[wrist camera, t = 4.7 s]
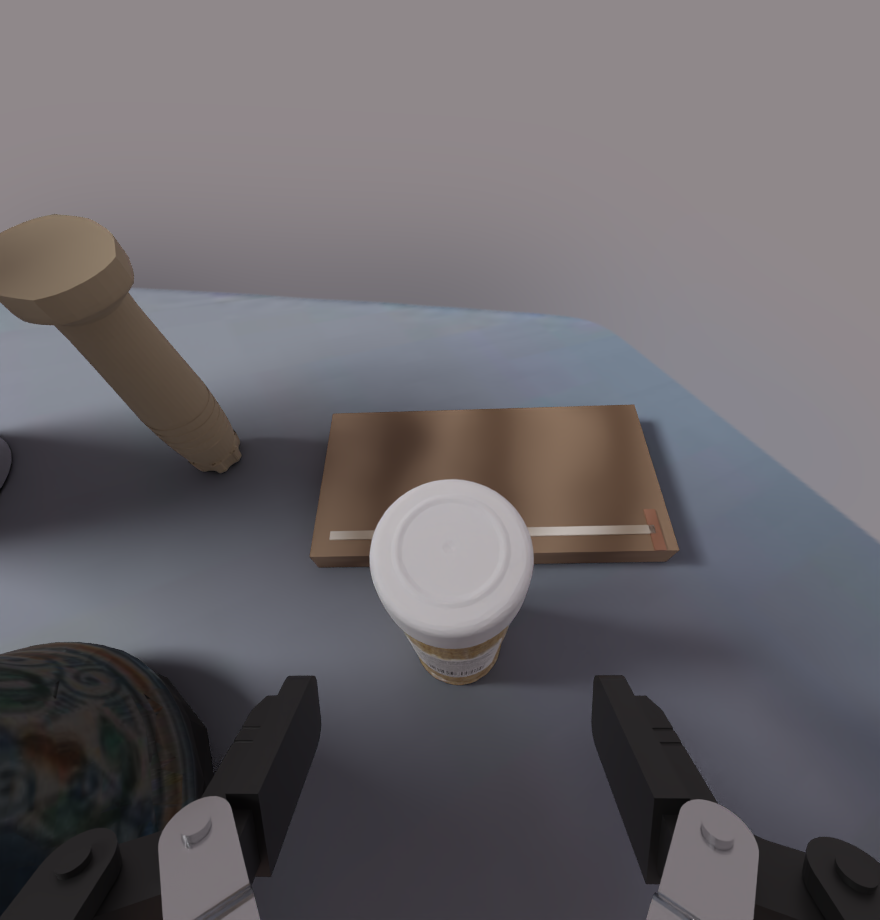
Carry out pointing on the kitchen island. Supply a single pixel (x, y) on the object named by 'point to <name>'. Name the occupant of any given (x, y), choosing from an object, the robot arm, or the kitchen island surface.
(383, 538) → the sprinkles bottle
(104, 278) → the handle
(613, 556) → the walnut board
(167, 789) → the beer stein
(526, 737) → the kitchen island surface
